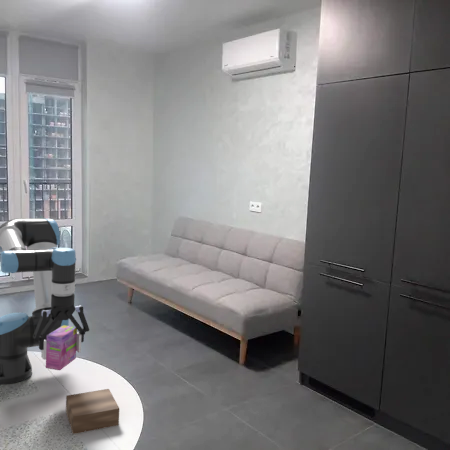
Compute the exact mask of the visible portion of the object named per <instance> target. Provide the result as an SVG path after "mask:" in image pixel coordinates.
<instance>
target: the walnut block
mask: <svg viewBox="0 0 450 450" xmlns="http://www.w3.org/2000/svg"><path fill="white" fill-rule="evenodd" d="M65 397H66V398H65V399H66V401H65V414H66V416H67V420H68V424H69V426H70V429H71V431H72V435H76V434H77V435H78V434H81V433H87V432H92V431H97V430H101V429H106V428H111V427H115V426H119V425H120V406H119V404H118V403H117V401H116V399H115V398H114V396H113V394H112V392H111V390H110V389H109V388H104V389H100V390H99V389H98V390H93V391H92V390H91V391H88V392H87V391H86V392H82V393H81V392H80V393H74V394H68V395H66V396H65Z"/></svg>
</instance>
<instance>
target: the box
mask: <svg viewBox="0 0 450 450" xmlns="http://www.w3.org/2000/svg"><path fill="white" fill-rule="evenodd" d="M77 333H78V330H77V328H76V327H75V326H72V325H71V326H70V325H69V326H65V325H63V326H61V327H60V328H58V329H56V330H55V331H53V332H51V333H50V334H48V335H47V343H46V360H45V369H50V370H55V371H62V370H63V369H64V368H65V367H66V366H68V365H69V364H71V363H72V362H73V361H74V360H76V359H77V351H76V340H77Z"/></svg>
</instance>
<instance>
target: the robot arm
mask: <svg viewBox="0 0 450 450" xmlns="http://www.w3.org/2000/svg"><path fill="white" fill-rule="evenodd" d="M60 235H61V234H60V228H59V225H58V223H57V221H56V220H55V219H53V218H46V217H43V218H13V219H10V220H7V221H5V222H3V223H2V224H0V247H1V250H2V251H1V253H0V271H1V272H2V273H3V274H6V273H7V274H16V273H18V274H19V273H31V272H32V276H33V288H34V289H33V290H34V300H35V301H34V302H35V303H34V304H35V308H34V309H33V311H32V312H31V316H29V314H28V313H27V312H23V311H22V312H11V313H7V314H4V315H2V316H0V385H8V384H15V383H19V382H22V381H25V380H27V379H29V378H30V377H31V376H32V374H33V367H32V364H31V360H30V358H29V355H28V348H34V347H38V348H39V350H40V351H41V353H40V354H41V358H42V360H44V361H46V343H47V335H48V334H50V333H51V332H53V331H55V330H56V329H58V328H60V327H61V326H63V325H65V326H70V322H71V323H72V324H73V327H76V328H77V340H76V353H79V354H80V353H81V352H82V343H83V342H84V341H85V340H84V339H85V337H84V336H85V335H86V333H87V332H90V326H89V324H88V322H87V319H86V316H85V313H84V307H83V306H82V305H81V304H78V305H75V292H76V291H75V289H76V288H75V287H76V285H75V284H76V263H77V262H76V261H77V257H76V254H77V253H76V250H75V249H74V248H71V247H57V246H58V245H60V242H61V236H60ZM75 312H76V313H77V314H78V317H79V320H80V323H81V324H82V327H81V325H80V324H79V323H78V321H77V320H76V318H75V317H74V316H73V314H74V313H75Z"/></svg>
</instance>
